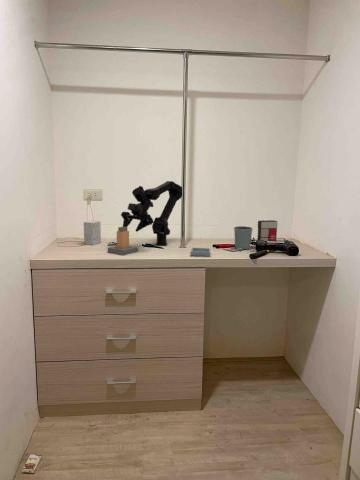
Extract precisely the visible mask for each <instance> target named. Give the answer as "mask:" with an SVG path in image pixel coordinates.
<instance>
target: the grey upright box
mask: <svg viewBox="0 0 360 480" xmlns="http://www.w3.org/2000/svg"><path fill="white" fill-rule="evenodd" d="M277 232H278V220H274V219H273V220H258V221H257V240H264V241H275V242H276V243H277V237H278V236H277V234H278V233H277ZM257 240H256V241H257Z"/></svg>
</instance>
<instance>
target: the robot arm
mask: <svg viewBox="0 0 360 480" xmlns="http://www.w3.org/2000/svg"><path fill="white" fill-rule="evenodd" d="M182 187H183V186H181V185H179V184H177V183H176V182H175V181H173V180H171V181H170V180H167V181H165V182H163V183H162V184H160V185H158V186H156V187H152V188H147V189H144V187H143V185H139V186H138V187H135V188H134V189H133V190H132V192H131V193H132V195H133V197H134V198H135V200H136V201H137V202H138V203H129V202H128V205H127V210H129V211H130V212H131V213H130V212H129V211H122V212H121V213H120V216H121V217H122V219H123V223H122V227H127V228H128V227H129V226H130V224H131V222H133V220H137V221H139V222H138V224H137V226H136V229H135V232H136V233H137V232H139V231H141V230H143V229H144V228H146V227H148V226H150V225H151V228H152V232H153V234H154V235H155V234H156V243H155V246H167V245H168V242H167V236H169V235H170V234H171V230H170V228H169V227H168V226H169V221H168V220H169V218H170V216H171V214H172V212H173V210H174V208H175V206H176V204H177V202H178V201H180V200H181V199H182V197H183V196H182ZM165 192H168V200H167V201H166V203H165V205H164V208H163V209H162V212H161V213H160V215H159V217H155V218H154V219H153V218H152V215H150V214H149V212H148V211H149V209H150V208H154V202H152V201H156V200H158V199H159V198H160V196H161V195H162V194H163V193H165Z"/></svg>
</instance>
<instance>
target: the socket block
mask: <svg viewBox="0 0 360 480" xmlns="http://www.w3.org/2000/svg"><path fill="white" fill-rule="evenodd" d="M107 253H109V254H112V255H113V254H114V255H118V256H128V255H130V254H136V253H139V247H138V246H133V245H129V248H125V249H119V248H117V245H115V246H114V245H113V246H108V247H107Z"/></svg>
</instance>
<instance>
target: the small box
mask: <svg viewBox="0 0 360 480" xmlns="http://www.w3.org/2000/svg"><path fill="white" fill-rule="evenodd" d="M101 226H102V224H101V221H100V220H87V221H83V244H84V245H87V246H88V245H89V246H94V245H99V244H101V243H102V236H101V235H102V234H101V233H102V232H101V231H102V230H101Z"/></svg>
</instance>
